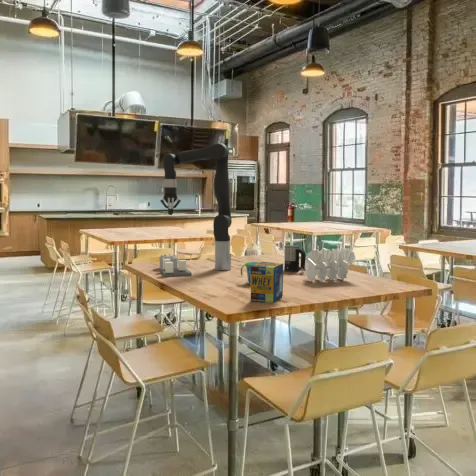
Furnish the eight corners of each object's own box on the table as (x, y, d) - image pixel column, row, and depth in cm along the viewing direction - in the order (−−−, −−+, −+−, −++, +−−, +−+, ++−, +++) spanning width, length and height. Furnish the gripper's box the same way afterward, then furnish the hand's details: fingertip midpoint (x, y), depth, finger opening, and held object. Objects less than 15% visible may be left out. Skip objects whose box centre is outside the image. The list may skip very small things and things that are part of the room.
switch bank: (186, 270, 313) (186, 267, 313) (191, 275, 294) (191, 272, 294) (161, 271, 309) (161, 268, 309) (164, 276, 291) (164, 273, 291)
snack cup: (272, 281, 276) (272, 262, 275) (267, 285, 266) (267, 265, 265) (244, 280, 281) (244, 261, 280) (238, 283, 271) (238, 264, 270)
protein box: (250, 301, 228) (250, 266, 227) (261, 294, 242) (261, 261, 241) (273, 303, 224) (273, 267, 223) (283, 296, 239) (283, 262, 237)
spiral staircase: (303, 287, 281) (344, 282, 289) (317, 278, 265) (360, 273, 274) (295, 255, 287) (336, 251, 295) (308, 244, 271) (351, 240, 279)
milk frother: (281, 271, 312) (281, 246, 311) (289, 267, 327) (289, 243, 325) (305, 272, 307) (305, 247, 305) (311, 269, 321) (312, 244, 320)
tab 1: (169, 268, 309) (169, 258, 309) (170, 269, 305) (170, 259, 305) (163, 268, 308) (162, 259, 308) (163, 269, 304) (163, 259, 304)
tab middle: (185, 269, 305) (185, 259, 304) (186, 270, 301) (186, 260, 301) (178, 269, 304) (178, 260, 303) (179, 270, 300) (179, 261, 300)
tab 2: (172, 271, 297) (172, 261, 296) (173, 272, 293) (173, 262, 292) (165, 271, 296) (165, 262, 295) (166, 272, 292) (166, 263, 291)
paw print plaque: (162, 270, 313) (161, 256, 312) (157, 267, 325) (157, 253, 324) (179, 269, 316) (179, 255, 316) (174, 266, 329) (174, 253, 328)
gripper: (180, 186, 328) (180, 214, 329) (158, 186, 324) (158, 214, 326) (182, 186, 321) (182, 215, 322) (160, 186, 317) (160, 215, 319)
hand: (170, 215), depth 324 cm, fingers closed
